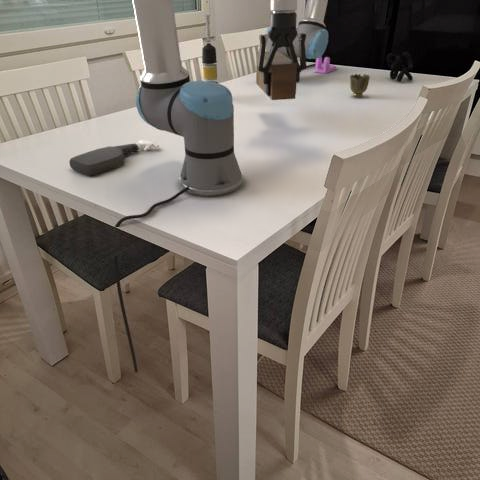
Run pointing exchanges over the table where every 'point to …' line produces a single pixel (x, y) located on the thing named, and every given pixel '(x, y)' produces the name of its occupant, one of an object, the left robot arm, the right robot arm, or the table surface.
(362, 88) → the cup
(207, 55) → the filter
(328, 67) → the bracket
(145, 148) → the spray bottle
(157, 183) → the table surface
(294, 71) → the box
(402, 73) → the squiggle
